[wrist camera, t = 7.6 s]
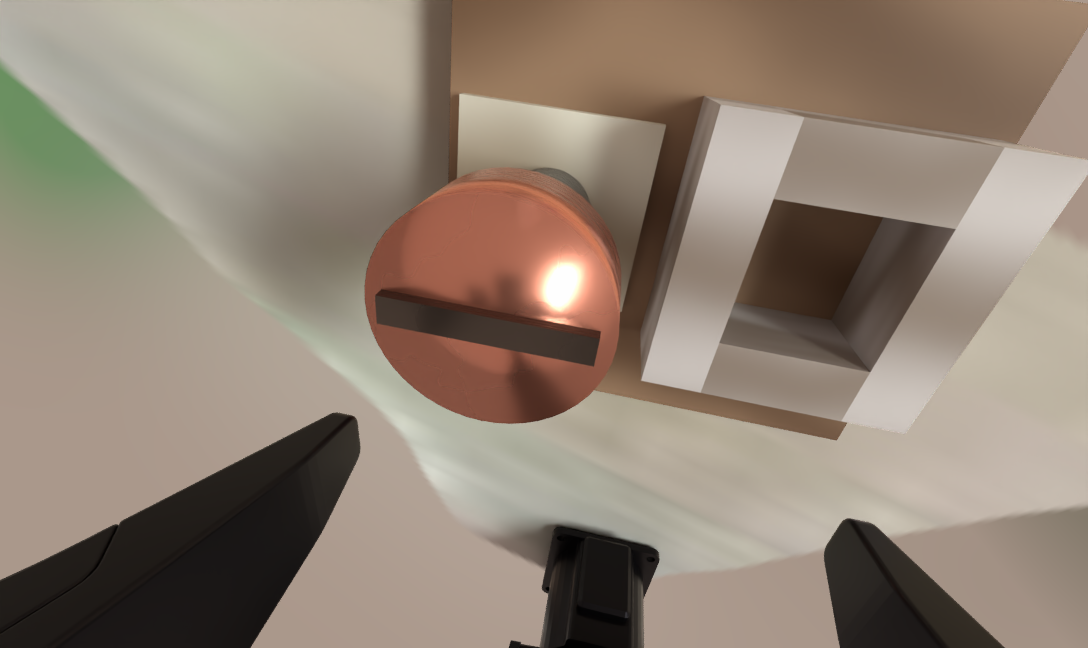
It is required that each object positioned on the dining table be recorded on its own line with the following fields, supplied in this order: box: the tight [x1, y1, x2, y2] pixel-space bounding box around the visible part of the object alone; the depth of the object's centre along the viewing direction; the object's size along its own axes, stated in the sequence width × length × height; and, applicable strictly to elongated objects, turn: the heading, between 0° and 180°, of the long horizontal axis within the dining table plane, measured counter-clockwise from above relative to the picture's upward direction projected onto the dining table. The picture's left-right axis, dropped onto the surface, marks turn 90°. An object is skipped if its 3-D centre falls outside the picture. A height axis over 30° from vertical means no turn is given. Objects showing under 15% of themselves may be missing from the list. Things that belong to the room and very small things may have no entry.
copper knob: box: [365, 167, 621, 424], centre depth 14 cm, size 6×6×9 cm
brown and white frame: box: [449, 0, 1088, 440], centre depth 16 cm, size 16×18×5 cm
